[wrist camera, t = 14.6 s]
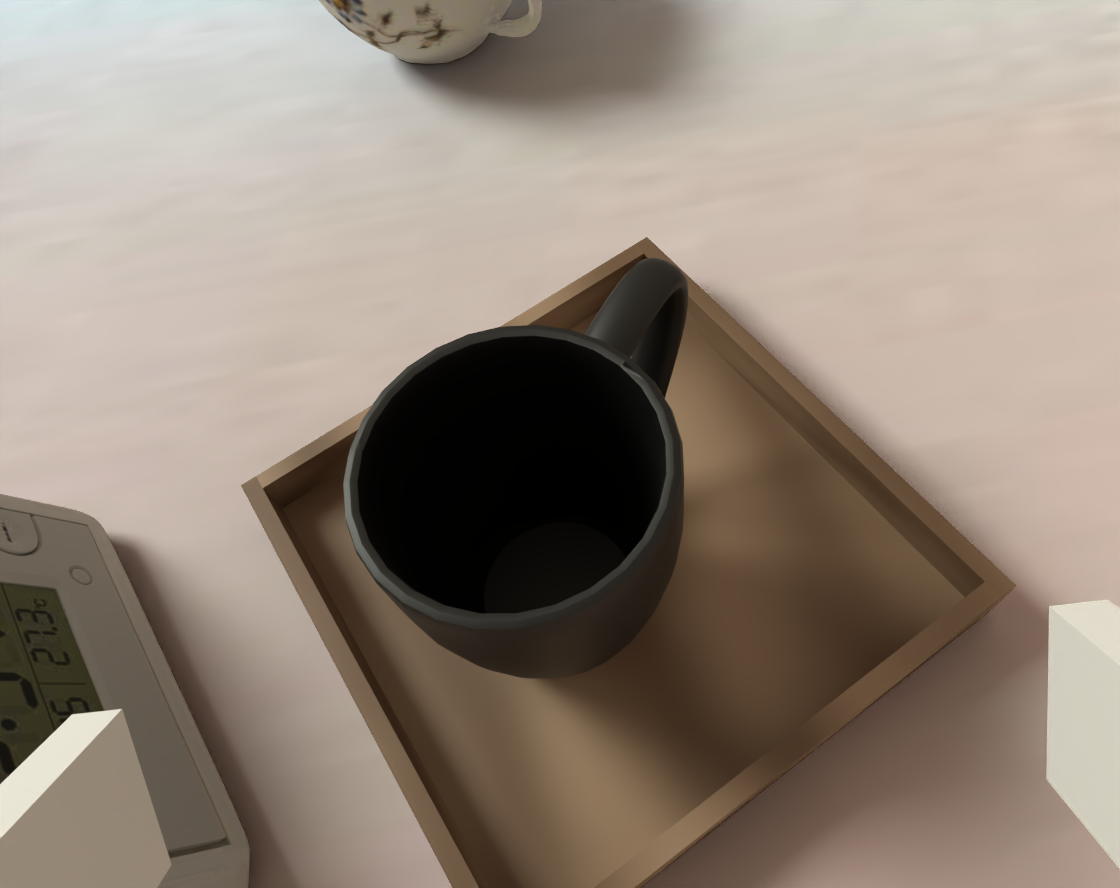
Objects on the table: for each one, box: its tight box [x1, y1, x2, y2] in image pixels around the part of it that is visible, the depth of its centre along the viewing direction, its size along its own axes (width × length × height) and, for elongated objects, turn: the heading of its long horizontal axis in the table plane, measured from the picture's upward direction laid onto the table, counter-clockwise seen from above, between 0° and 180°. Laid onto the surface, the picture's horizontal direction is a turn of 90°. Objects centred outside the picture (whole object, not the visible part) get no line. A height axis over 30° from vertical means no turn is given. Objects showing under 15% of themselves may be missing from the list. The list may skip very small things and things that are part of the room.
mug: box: [343, 258, 688, 679], centre depth 24 cm, size 8×12×10 cm
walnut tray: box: [241, 237, 1016, 888], centre depth 28 cm, size 18×18×2 cm
